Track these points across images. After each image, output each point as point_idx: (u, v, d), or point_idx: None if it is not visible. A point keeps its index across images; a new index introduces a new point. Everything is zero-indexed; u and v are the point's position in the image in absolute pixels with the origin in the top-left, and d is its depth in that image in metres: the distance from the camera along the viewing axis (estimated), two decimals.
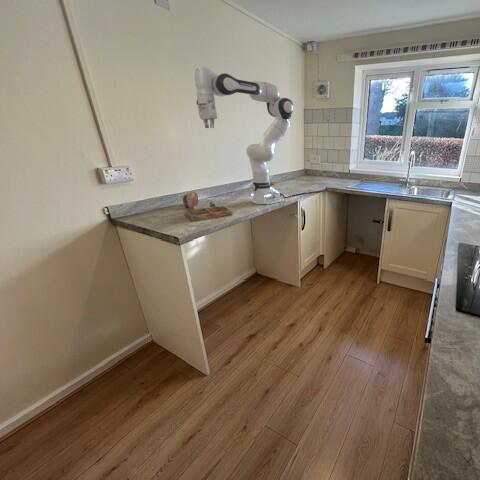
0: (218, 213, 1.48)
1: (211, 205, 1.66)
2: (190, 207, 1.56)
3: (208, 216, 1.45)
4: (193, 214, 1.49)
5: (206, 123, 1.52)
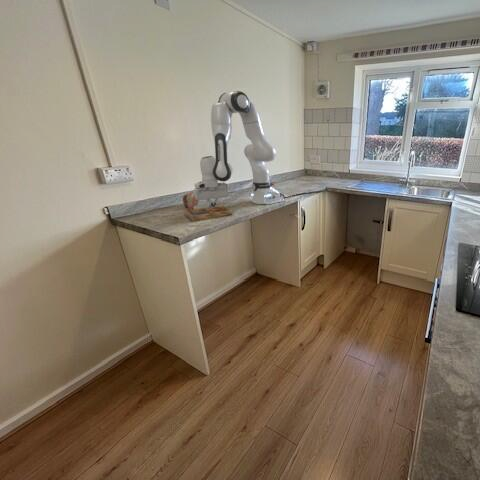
0: (218, 213, 1.48)
1: None
2: (190, 207, 1.56)
3: (208, 216, 1.45)
4: (193, 214, 1.49)
5: (209, 201, 1.63)
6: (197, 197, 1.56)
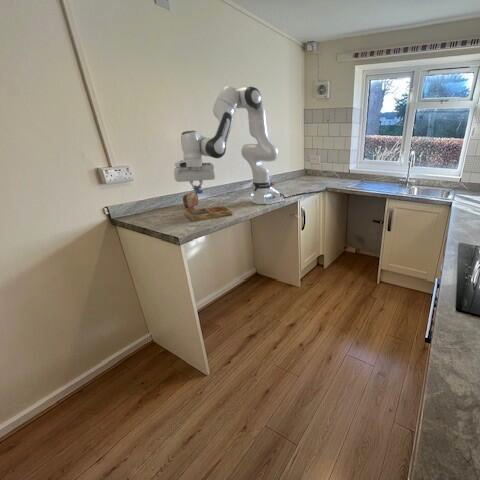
0: (218, 213, 1.48)
1: None
2: (190, 207, 1.56)
3: (208, 216, 1.45)
4: (193, 214, 1.49)
5: (192, 184, 1.43)
6: (177, 178, 1.35)
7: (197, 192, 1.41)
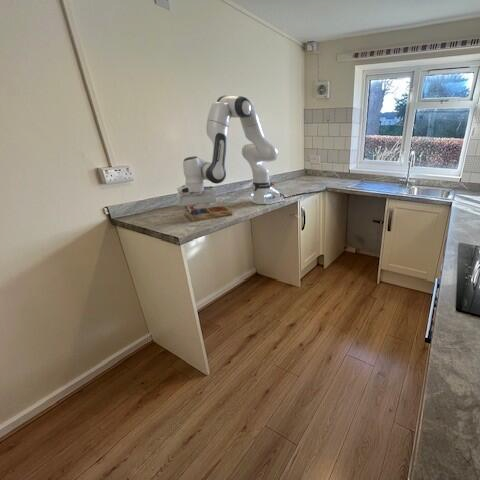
0: (218, 213, 1.48)
1: (197, 212, 1.48)
2: (190, 207, 1.56)
3: (208, 216, 1.45)
4: (193, 214, 1.49)
5: (189, 208, 1.44)
6: (180, 203, 1.38)
7: None
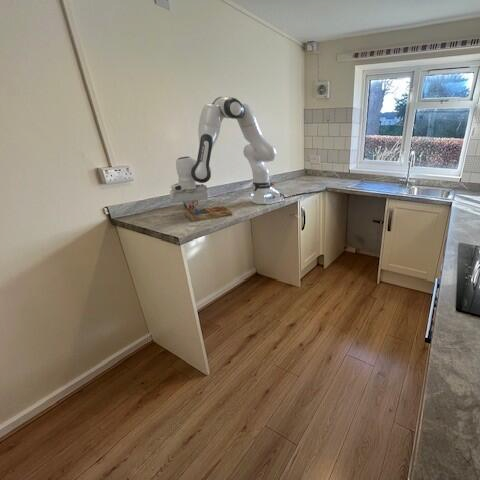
0: (218, 213, 1.48)
1: (197, 212, 1.48)
2: (190, 207, 1.56)
3: (208, 216, 1.45)
4: (193, 214, 1.49)
5: (187, 204, 1.56)
6: (173, 200, 1.48)
7: None
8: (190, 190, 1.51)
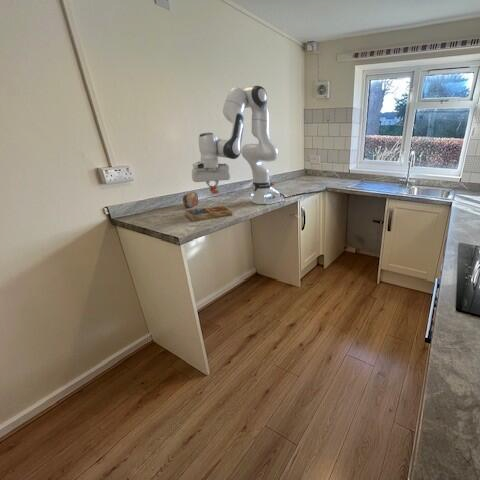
0: (218, 213, 1.48)
1: (197, 212, 1.48)
2: (212, 187, 1.48)
3: (208, 216, 1.45)
4: (193, 214, 1.49)
5: None
6: (195, 178, 1.40)
7: None
8: (213, 169, 1.43)
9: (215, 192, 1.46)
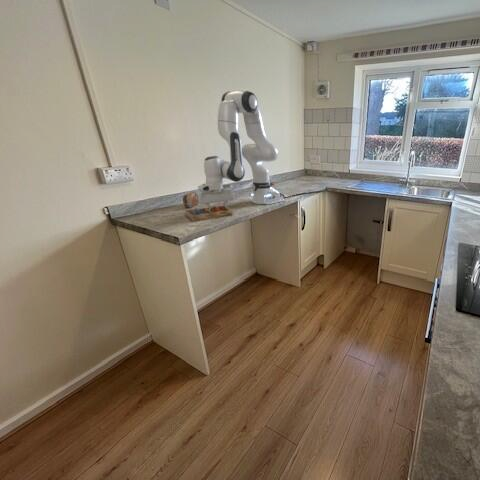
0: (218, 213, 1.48)
1: (197, 212, 1.48)
2: (217, 208, 1.52)
3: (208, 216, 1.45)
4: (193, 214, 1.49)
5: (209, 206, 1.50)
6: (201, 200, 1.45)
7: None
8: (217, 191, 1.48)
9: None
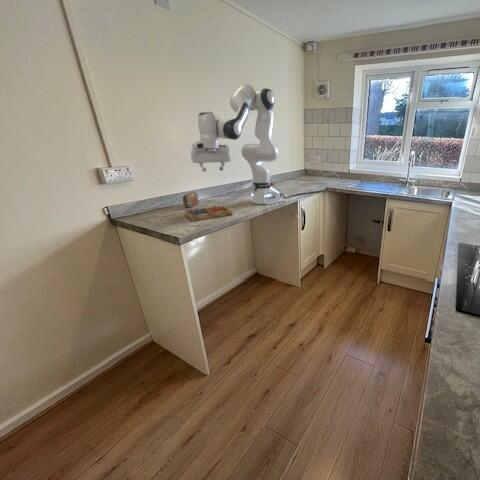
0: (218, 213, 1.48)
1: (197, 212, 1.48)
2: (217, 208, 1.52)
3: (208, 216, 1.45)
4: (193, 214, 1.49)
5: (202, 166, 1.41)
6: (194, 159, 1.36)
7: None
8: (212, 149, 1.39)
9: None
